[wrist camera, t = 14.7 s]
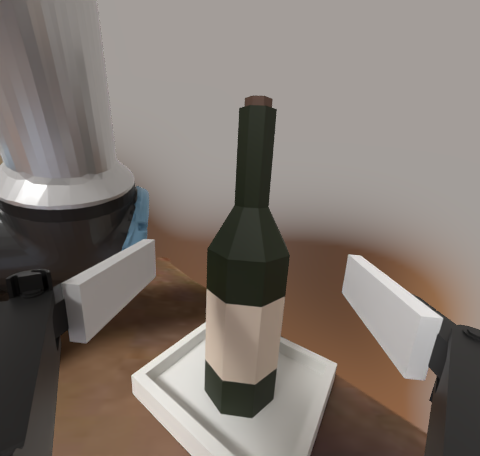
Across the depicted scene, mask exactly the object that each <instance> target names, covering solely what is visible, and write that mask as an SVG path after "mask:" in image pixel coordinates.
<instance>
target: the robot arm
mask: <svg viewBox="0 0 480 456" xmlns="http://www.w3.org/2000/svg"><path fill="white" fill-rule="evenodd" d="M0 155H1V157H2V160H3V163H2V164H1V165H0V456H52V447H53V436H54V424H55V412H56V400H57V388H58V376H59V365H60V353H61V338H60V335H62V334H63V333H64V332H65V331H67V330H68V332H69V339H70V342H79V343H87V342H88V341H89V340H91V339H92V338H93V337H94V336H95V335H96V334H97V333H98V332H99V331H100V330H101V329H102V328H103V327H104V326H105V325H106V324H107V323H108V322H109V321H110V320H111V319H112V318H113V317H114V316H115V315H116V314H117V313H119V312H120V311H121V310H122V309H123V308H124V307H125V306H126V305H127V304H128V303H129V302H130V301H131V300H132V299H133V298H134V297H135V296H136V295H137V294H138V293H139V292H140V291H141V290H142V289H143V288H144V287H145V286H146V285H148V284H149V283H150V282H151V281H152V280H153V279H154V278H155V277H156V266H155V240H150V239H147V226H148V216H149V193H148V191H147V190H146V189H144V188H141V187H139V186H137V187H135V181H134V175H133V173H132V171H131V170H129V169H128V168H127V167H126V166H125V165H124V164H122V163H121V162H120V161H118V160H117V157H116V149H115V141H114V134H113V125H112V117H111V110H110V100H109V92H108V84H107V76H106V68H105V60H104V52H103V44H102V36H101V28H100V20H99V12H98V3H97V0H0ZM342 294H343V295H344V296H345V298H346V299H347V300H348V302H349V303H350V304H351V306H352V307H353V309H354V310H355V311H356V313H357V314H358V316H359V317H360V318H361V319H362V321H363V322H364V324H365V325H366V326H367V327H368V329H369V330H370V332H371V333H372V335H373V336H374V337H375V339H376V340H377V341H378V343H379V344H380V346H381V347H382V348H383V350H384V351H385V353H386V354H387V355H388V357H389V358H390V359H391V361H392V362H393V363H394V365H395V366H396V368H397V369H398V370H399V372H400V373H401V374H402V376H403V377H404V378H406V379H416V380H425V378H426V375H427V371H428V368H430V369H431V370H432V371H433V372H434V373H435V374H436V375H437V378H436V381H435V384H434V387H433V391H432V394H431V397H430V401H431V402H432V405H431V412H430V419H429V426H428V433H427V440H426V447H425V455H424V456H480V330H479V329H476V328H473V327H469V326H465V325H456V324H455V323H453V322H452V321H451V320H449V319H448V318H447V317H445V316H444V315H442V314H441V313H440V312H438V311H436V309H434V308H433V307H431V306H430V305H429V304H428V303H426V302H425V301H424V300H422V299H421V298H419V297H417V296H415V295H413V294H411V293H409V292H408V291H407V290H405V289H404V288H403V287H401V286H400V285H399V284H397V283H396V282H395V281H393V280H392V279H391V278H389V277H388V276H387V275H386V274H384V273H383V272H382V271H380V270H379V269H378V268H376V267H375V266H374V265H372V264H371V263H369V262H368V261H367V260H366V259H364V258H363V257H362V256H359V255H348V260H347V266H346V271H345V277H344V283H343V289H342Z"/></svg>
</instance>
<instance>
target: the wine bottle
mask: <svg viewBox="0 0 480 456" xmlns="http://www.w3.org/2000/svg"><path fill="white" fill-rule="evenodd" d="M276 111H277V110H276V109H274V108H272V99H271V98H268V97H266V96H250V97H247V98H245V107H242V108H240V109H239V128H238V149H237V169H236V190H235V206H234V207H233V209H232V211H231V212H230V214H229V215H228V217H227V219H226V220H225V222H224V223H223V225H222V227H221V228H220V230H219V232H218V233H217V235H216V236H215V238H214V239H213V241H212V243H211V244H210V246H209V247H208V252H207V297H206V342H205V387H204V390H205V392H206V393H207V395H208V396H209V398H210V399H211V400H212V402H213V403H214V405H215V406H216V408H217V409H218V411H219V412H220V414H225V415H232V416H239V417H246V418H253V417H254V416H255V415H256V414H258V413H259V412H260V411H261V410H262V409H263V408H264V407H265V406H267V405H268V404H269V403H270V402H271V401H272V400H273V399H274V391H275V382H276V373H277V364H278V355H279V346H280V337H281V328H282V319H283V311H284V301H285V293H286V282H287V275H288V266H289V256H290V255H289V252H288V250H287V247H286V245H285V242H284V240H283V238H282V236H281V234H280V231H279V229H278V227H277V225H276V223H275V221H274V218H273V216H272V214H271V212H270V209H269V207H268V205H269V193H270V181H271V170H272V158H273V145H274V134H275V122H276Z"/></svg>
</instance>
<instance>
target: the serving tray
mask: <svg viewBox="0 0 480 456" xmlns="http://www.w3.org/2000/svg"><path fill="white" fill-rule="evenodd" d="M205 342H206V322H205V323H204V324H202V325H201V326H199V327H198V328H197V329H195V330H194V331H192V332H191V333H190V334H188V335H187V336H185V337H184V338H183V339H181V340H180V341H179V342H177V343H176V344H174V345H173V346H172V347H170V348H169V349H167V350H166V351H165V352H163V353H162V354H160V355H159V356H158V357H156V358H155V359H153V360H152V361H151V362H149V363H148V364H147V365H145V366H144V367H142V368H141V369H140V370H138V371H137V372H135V373H134V374H133V375H131V376H132V390H133V394H134V395H135V397H136V398H137V399H138V400H139V401H140V402H141V403H142V404H143V405H144V406H145V407H146V408H147V409H148V410H149V411H150V412H151V413H152V414H153V416H154V417H155V418H156V419H157V420H158V421H159V422H160V423H161V424H162V425H163V426H164V427H165V428H166V429H167V430H168V431H169V432H170V433H171V435H172V436H173V437H174V438H175V439H176V440H177V441H178V442H179V443H180V444H181V445H182V446H183V447H184V448H185V449H186V450H187V451H188V452H189V454H190V455H191V456H310V455H311V452H312V449H313V446H314V442H315V439H316V436H317V433H318V430H319V427H320V423H321V420H322V417H323V414H324V411H325V408H326V405H327V401H328V398H329V395H330V392H331V389H332V386H333V382H334V379H335V373H336V368H337V363H335V362H332V361H330V360H328V359H326V358H324V357H322V356H320V355H318V354H316V353H314V352H312V351H310V350H308V349H306V348H303V347H301V346H299V345H297V344H295V343H293V342H291V341H289V340H287V339H285V338H283V337H280V346H279V355H278V364H277V373H276V382H275V391H274V399H273V400H272V401H271V402H270V403H269V404H268V405H267V406H265V407H264V408H263V409H262V410H261V411H260V412H259V413H258V414H256V415H255V416H254V417H253V418H246V417H239V416H232V415H225V414H220V412H219V411H218V409H217V408H216V406H215V405H214V403H213V402H212V400H211V399H210V398H209V396H208V395H207V393H206V392H205V390H204V387H205Z"/></svg>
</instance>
